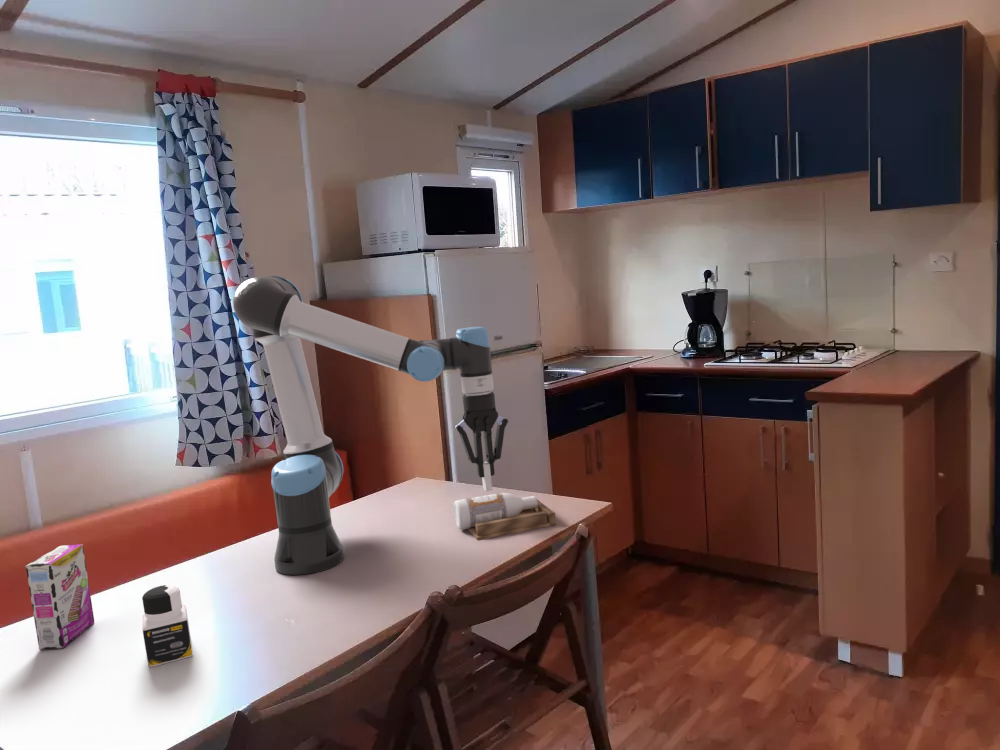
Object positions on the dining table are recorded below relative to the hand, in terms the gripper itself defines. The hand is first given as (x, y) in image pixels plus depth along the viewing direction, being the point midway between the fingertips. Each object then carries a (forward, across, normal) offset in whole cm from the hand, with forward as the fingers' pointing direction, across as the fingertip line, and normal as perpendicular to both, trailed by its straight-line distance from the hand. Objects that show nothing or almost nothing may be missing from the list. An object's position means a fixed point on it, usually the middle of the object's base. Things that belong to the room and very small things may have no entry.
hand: (487, 489), depth 191 cm
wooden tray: (+9, +4, 0) cm, 10 cm away
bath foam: (+5, -8, +2) cm, 10 cm away
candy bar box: (+10, -89, -17) cm, 91 cm away
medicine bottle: (+10, -69, -35) cm, 78 cm away
